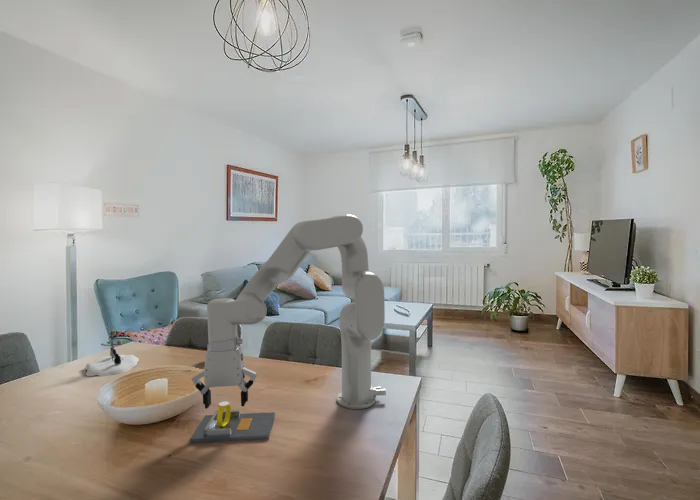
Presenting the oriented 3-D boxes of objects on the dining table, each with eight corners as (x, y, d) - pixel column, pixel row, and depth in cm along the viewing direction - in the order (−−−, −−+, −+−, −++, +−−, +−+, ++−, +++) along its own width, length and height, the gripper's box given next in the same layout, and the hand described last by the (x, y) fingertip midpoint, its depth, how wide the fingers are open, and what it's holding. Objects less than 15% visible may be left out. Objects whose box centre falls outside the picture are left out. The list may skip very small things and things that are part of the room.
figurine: (91, 360, 150) (89, 323, 148) (140, 355, 157) (139, 319, 155) (78, 382, 132) (76, 340, 130) (134, 375, 139) (133, 335, 137)
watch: (224, 431, 94) (223, 409, 94) (214, 430, 94) (213, 408, 94) (233, 419, 100) (233, 398, 100) (223, 419, 100) (223, 398, 100)
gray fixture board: (274, 416, 104) (274, 407, 104) (268, 439, 92) (268, 429, 92) (205, 419, 103) (205, 410, 103) (190, 443, 91) (189, 433, 91)
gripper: (258, 338, 101) (260, 397, 102) (195, 341, 99) (198, 400, 100) (252, 346, 93) (255, 409, 94) (185, 350, 92) (188, 414, 93)
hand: (226, 405), depth 97 cm, fingers open, 9 cm apart
